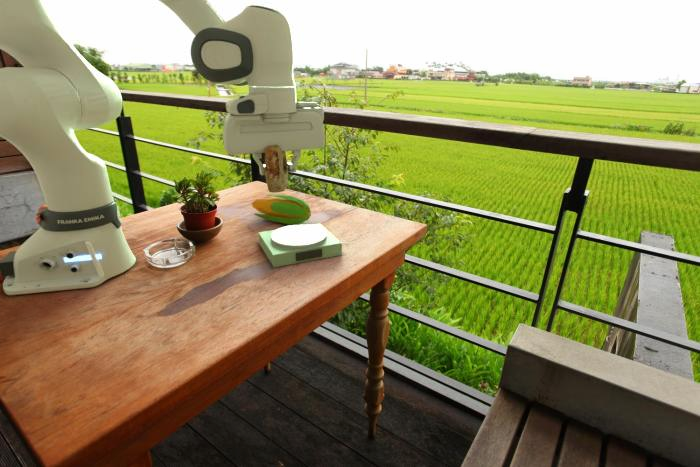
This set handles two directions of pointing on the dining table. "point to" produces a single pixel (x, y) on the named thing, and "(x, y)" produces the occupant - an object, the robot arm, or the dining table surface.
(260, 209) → the corn
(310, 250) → the scale
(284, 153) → the stone disc
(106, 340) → the dining table surface
